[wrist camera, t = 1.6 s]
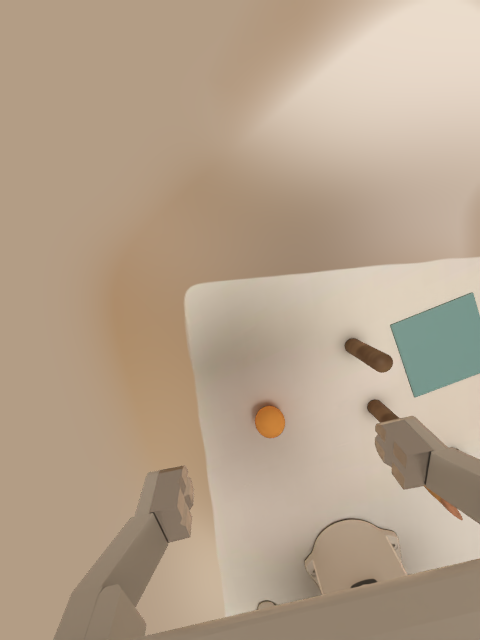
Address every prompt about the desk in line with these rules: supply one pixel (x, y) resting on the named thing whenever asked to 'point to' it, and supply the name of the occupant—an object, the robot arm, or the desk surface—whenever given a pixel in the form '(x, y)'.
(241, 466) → the desk surface
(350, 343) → the post
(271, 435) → the ball
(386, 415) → the post
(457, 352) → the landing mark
